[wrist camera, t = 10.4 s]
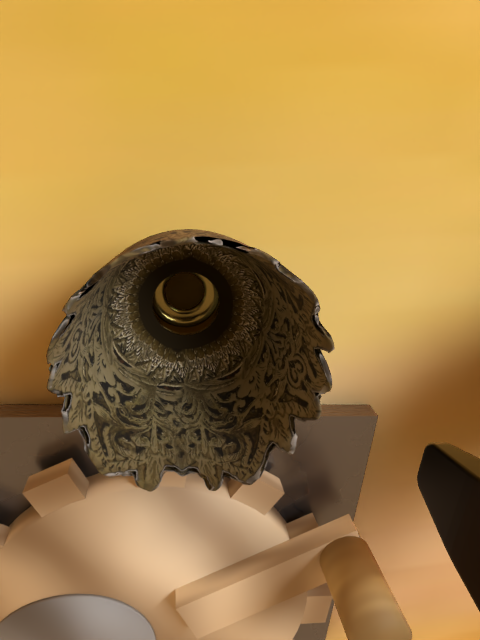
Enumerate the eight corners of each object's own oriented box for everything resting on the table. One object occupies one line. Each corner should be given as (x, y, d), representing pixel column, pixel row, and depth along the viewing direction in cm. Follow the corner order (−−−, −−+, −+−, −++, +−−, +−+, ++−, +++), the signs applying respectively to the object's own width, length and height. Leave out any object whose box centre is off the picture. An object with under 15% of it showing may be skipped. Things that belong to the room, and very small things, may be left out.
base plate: (369, 404, 23) (379, 417, 22) (306, 680, 30) (312, 699, 29) (-101, 404, 19) (-117, 419, 18) (-41, 719, 26) (-49, 743, 25)
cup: (82, 357, 19) (32, 488, 12) (103, 181, 17) (58, 210, 10) (249, 379, 21) (294, 506, 14) (290, 222, 19) (372, 273, 11)
